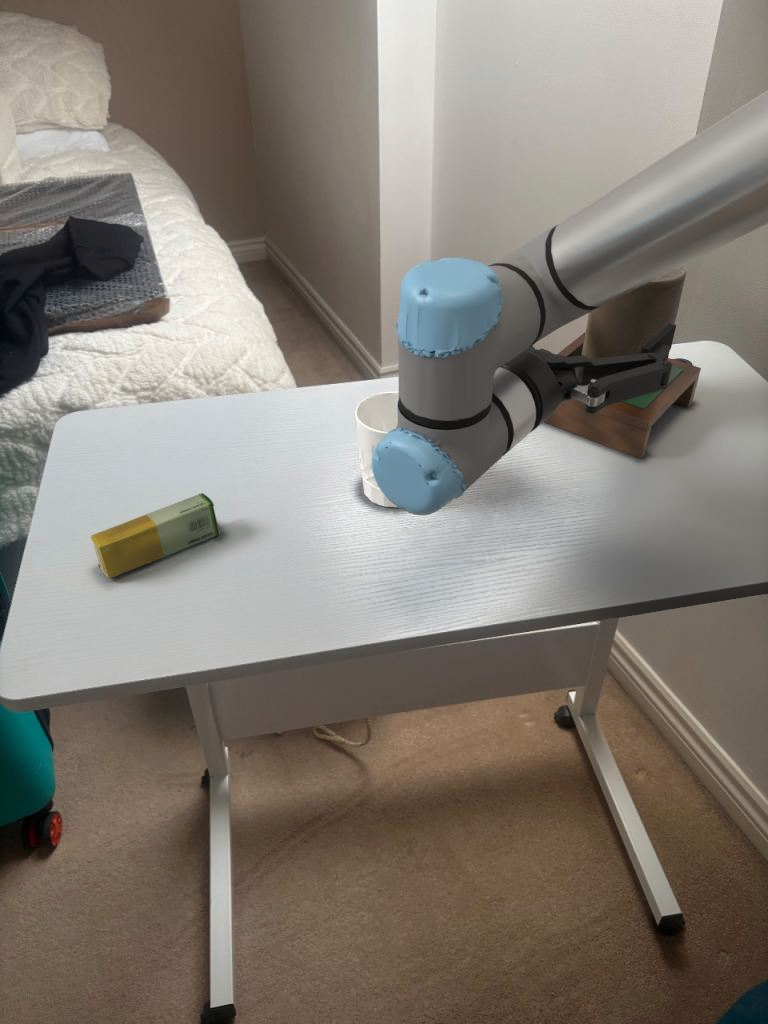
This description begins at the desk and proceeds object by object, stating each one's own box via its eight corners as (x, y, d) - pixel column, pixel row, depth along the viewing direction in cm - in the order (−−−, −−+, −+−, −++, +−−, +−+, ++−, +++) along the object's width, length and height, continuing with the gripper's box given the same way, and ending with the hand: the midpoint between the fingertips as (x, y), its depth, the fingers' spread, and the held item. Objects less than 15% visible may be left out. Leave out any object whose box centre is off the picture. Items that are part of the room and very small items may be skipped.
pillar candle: (612, 402, 94) (637, 276, 85) (563, 364, 101) (580, 244, 92) (680, 383, 97) (711, 259, 88) (627, 347, 104) (651, 229, 95)
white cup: (417, 518, 87) (419, 439, 80) (347, 503, 89) (343, 425, 82) (438, 475, 93) (441, 398, 86) (371, 462, 95) (370, 386, 88)
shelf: (692, 403, 104) (705, 353, 99) (640, 458, 95) (652, 406, 90) (590, 369, 110) (598, 320, 106) (533, 418, 101) (539, 367, 97)
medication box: (210, 523, 87) (203, 490, 84) (221, 534, 85) (215, 502, 83) (98, 567, 81) (88, 534, 79) (107, 581, 79) (97, 547, 77)
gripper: (395, 394, 84) (506, 318, 97) (622, 485, 72) (715, 385, 85) (395, 326, 79) (512, 256, 92) (638, 412, 67) (734, 317, 80)
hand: (609, 317), depth 89 cm, fingers open, 13 cm apart
